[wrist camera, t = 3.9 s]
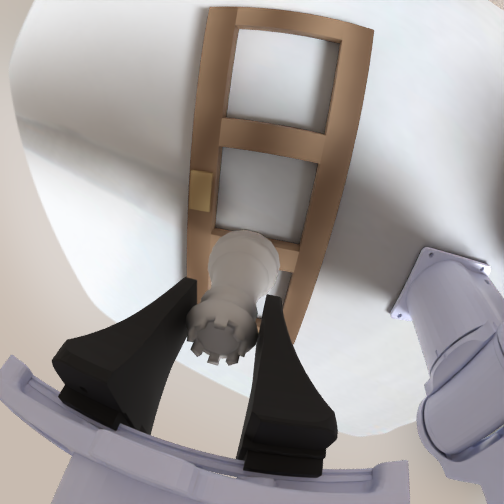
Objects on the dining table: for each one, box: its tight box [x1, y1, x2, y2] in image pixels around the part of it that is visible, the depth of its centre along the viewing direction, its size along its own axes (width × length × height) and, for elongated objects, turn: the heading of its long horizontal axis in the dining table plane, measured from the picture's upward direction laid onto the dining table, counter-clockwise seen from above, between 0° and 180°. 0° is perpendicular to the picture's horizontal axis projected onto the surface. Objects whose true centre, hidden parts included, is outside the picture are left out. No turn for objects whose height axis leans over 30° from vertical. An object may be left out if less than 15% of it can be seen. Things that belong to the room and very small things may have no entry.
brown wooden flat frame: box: [187, 7, 374, 344], centre depth 20 cm, size 11×28×2 cm, turn 172°
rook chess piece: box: [186, 230, 280, 365], centre depth 14 cm, size 4×4×8 cm
